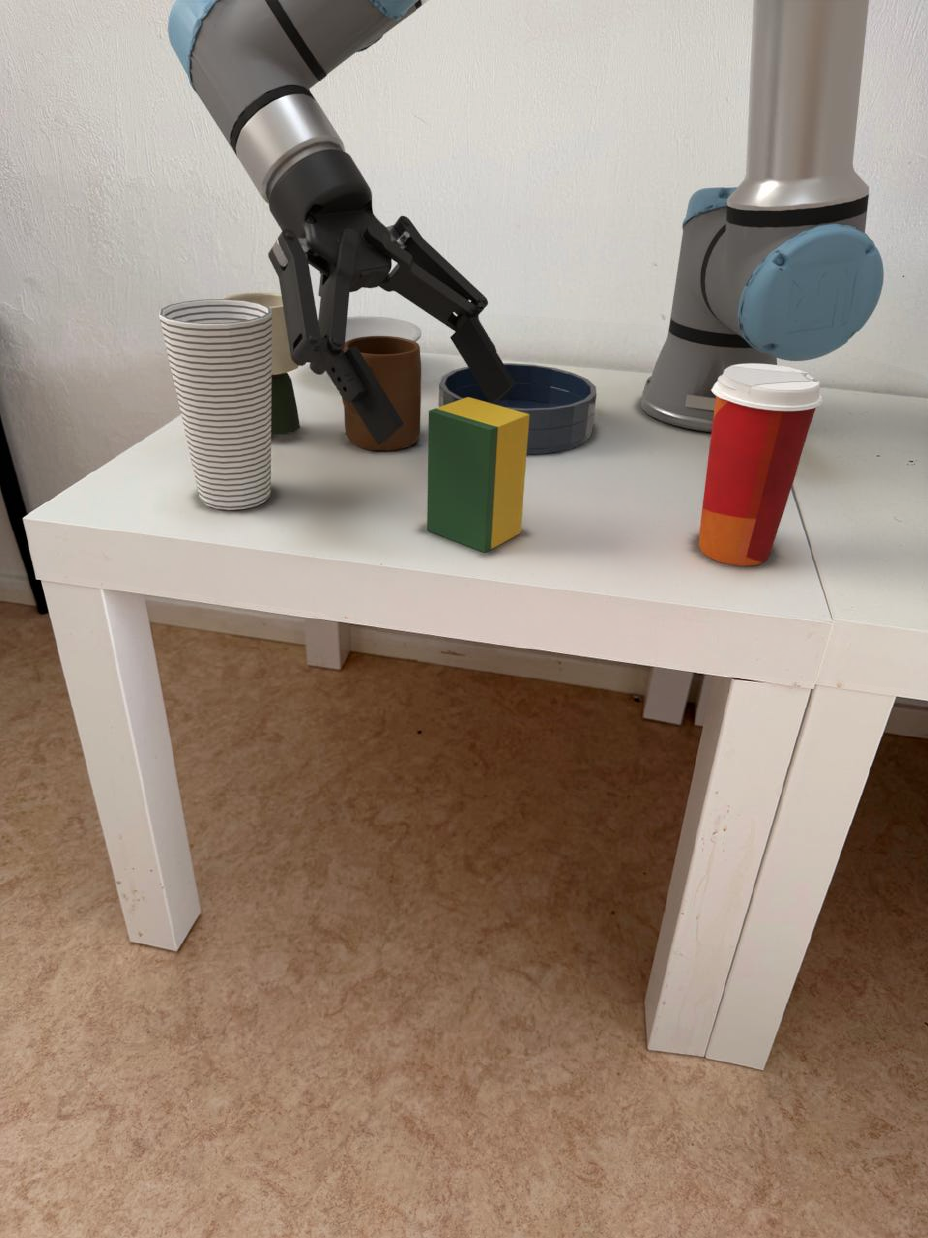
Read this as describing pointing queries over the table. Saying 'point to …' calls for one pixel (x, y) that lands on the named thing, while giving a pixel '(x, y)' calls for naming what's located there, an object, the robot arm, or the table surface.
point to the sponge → (476, 472)
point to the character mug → (278, 365)
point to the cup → (224, 395)
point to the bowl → (536, 403)
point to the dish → (380, 328)
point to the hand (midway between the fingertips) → (451, 413)
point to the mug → (389, 389)
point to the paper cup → (753, 458)
